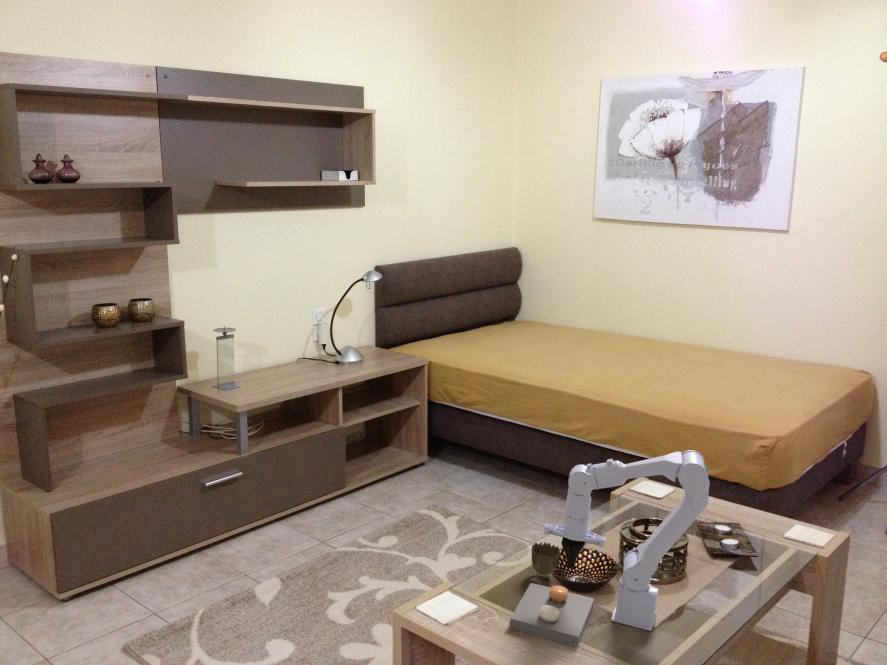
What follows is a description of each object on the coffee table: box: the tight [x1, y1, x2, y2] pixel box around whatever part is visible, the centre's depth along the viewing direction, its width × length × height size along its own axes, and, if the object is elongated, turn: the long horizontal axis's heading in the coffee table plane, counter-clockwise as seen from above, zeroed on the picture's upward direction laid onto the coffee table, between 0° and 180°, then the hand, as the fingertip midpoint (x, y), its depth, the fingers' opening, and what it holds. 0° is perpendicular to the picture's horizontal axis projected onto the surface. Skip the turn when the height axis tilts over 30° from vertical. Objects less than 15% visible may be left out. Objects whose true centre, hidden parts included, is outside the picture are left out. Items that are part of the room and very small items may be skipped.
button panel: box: [509, 582, 595, 647], centre depth 194 cm, size 16×18×2 cm
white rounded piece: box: [539, 605, 559, 623], centre depth 190 cm, size 4×4×4 cm
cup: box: [530, 541, 561, 580], centre depth 212 cm, size 8×7×8 cm
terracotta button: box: [549, 585, 569, 604], centre depth 198 cm, size 4×4×4 cm
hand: (570, 566), depth 198 cm, fingers closed
